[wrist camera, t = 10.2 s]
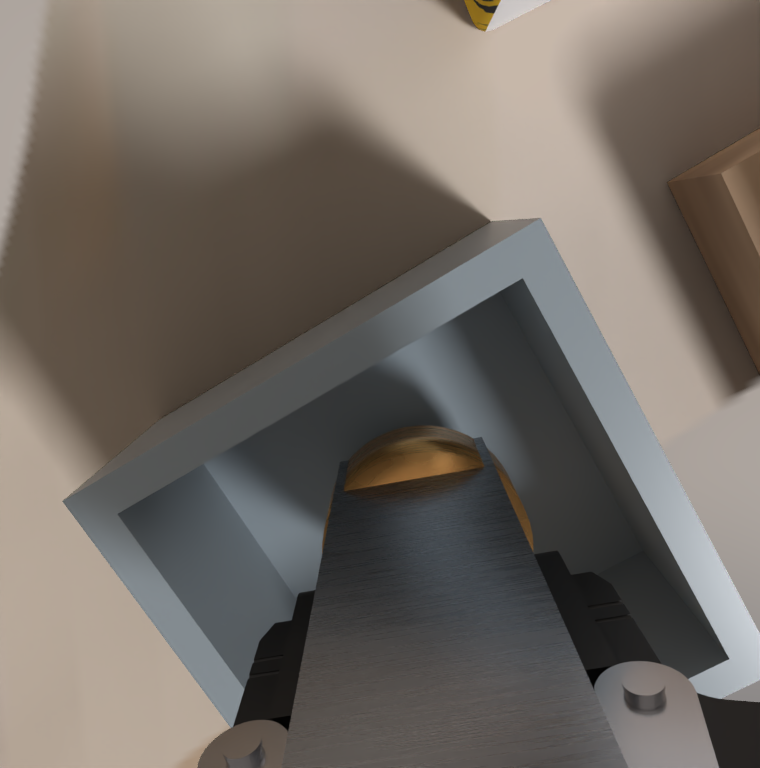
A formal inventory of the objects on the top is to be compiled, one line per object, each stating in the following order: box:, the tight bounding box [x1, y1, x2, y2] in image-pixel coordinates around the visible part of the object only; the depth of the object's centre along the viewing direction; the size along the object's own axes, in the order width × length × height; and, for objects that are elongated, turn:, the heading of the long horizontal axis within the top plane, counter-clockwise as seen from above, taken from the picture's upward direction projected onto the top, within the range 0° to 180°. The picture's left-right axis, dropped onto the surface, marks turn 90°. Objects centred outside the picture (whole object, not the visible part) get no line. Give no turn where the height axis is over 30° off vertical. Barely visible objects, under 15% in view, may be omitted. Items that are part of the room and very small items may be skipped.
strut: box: [281, 425, 628, 768], centre depth 11 cm, size 5×5×12 cm
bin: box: [63, 218, 760, 728], centre depth 17 cm, size 11×11×6 cm
